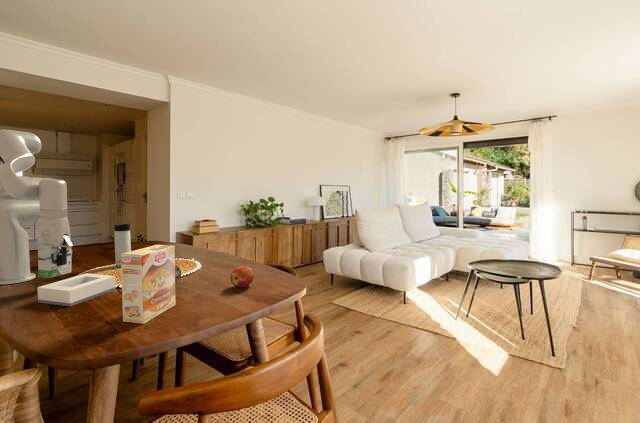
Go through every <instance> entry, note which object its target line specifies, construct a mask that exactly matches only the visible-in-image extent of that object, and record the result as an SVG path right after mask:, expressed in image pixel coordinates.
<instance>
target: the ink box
mask: <svg viewBox="0 0 640 423" xmlns="http://www.w3.org/2000/svg"><path fill="white" fill-rule="evenodd" d="M62 245H63V244H62ZM62 245H61V246H62ZM62 249H63V247H61V250H62ZM71 250H72V248H71V249H70V250H69V251H68V253H67V264H65V265H61V266H57V260H56V255H58V252H57V249H56V247H52V245H50V244H44V243H39V244H37V268H38V270H37V271H38V272H37V273H38V274H37V275H38V276H37V277H38V278H45V279H52V278H55V277H59V276H61V275H66V274H70V273H72V256H71Z"/></svg>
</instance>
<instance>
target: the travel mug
mask: <svg viewBox="0 0 640 423" xmlns="http://www.w3.org/2000/svg"><path fill="white" fill-rule="evenodd" d="M113 226H114V227H113V229H114V230H113V231H114V252H115V253H114V255H115V256H114V257H115V267H116V268H121V254H123V253H127V252H131V251H132V247H131V246H132V244H131V242H132V241H131V229H130V228H131V225H130V223H123V224H115V225H113Z"/></svg>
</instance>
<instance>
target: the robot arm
mask: <svg viewBox="0 0 640 423" xmlns="http://www.w3.org/2000/svg"><path fill="white" fill-rule="evenodd" d="M41 150H42V140H41V139H40V138H39V136H38V135H36V134H34V133H33V132H30V131H29V132H28V131H20V130H14V129H12V130H11V129H3V128H2V129H0V158H1V159H2V161H1V160H0V286H1V285H3V286H4V285H11V284H13V285H14V284H18V283H19V284H20V283H23V282H28V281H31V280H34V279H35V278H36V277H37V276H36V273H33V272H31V264H30V263H31V262H30V260H31V259H30V246H29V245H30V244H29V242H30V241H29V235H28V232H27V230H25V229H24V228H23V227H22V226H21V225H20V224H22V225H23V224H28V223H29V224H30V223H31V224H32V223H37V225H36V226H37V227H36V244H37V245H38V244H39V243H44V244H50V245H52V247H56V249H57V252H58V255H56V260H57V266H61V265H65V264H67V253H68V251H69V250H70V249H71V250H72V248H73V247H74V244H72V240H71V239H72V236H71V226H70V222H69V219H68V218H69V217H68V186H67V182H66V180H64V179H56V178H51V177H32V176H31V177H30V176H26V175H24V176H23V175H17V174H18V173H21V172H23V171H26V170H28V169H30V168H31V167H33V166H35V165H34V164H35V162H36V158H35V155H37V154H39V153H40V152H41ZM62 244H63V245H62ZM61 245H62V246H61ZM61 247H63V249H62V250H61Z"/></svg>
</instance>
